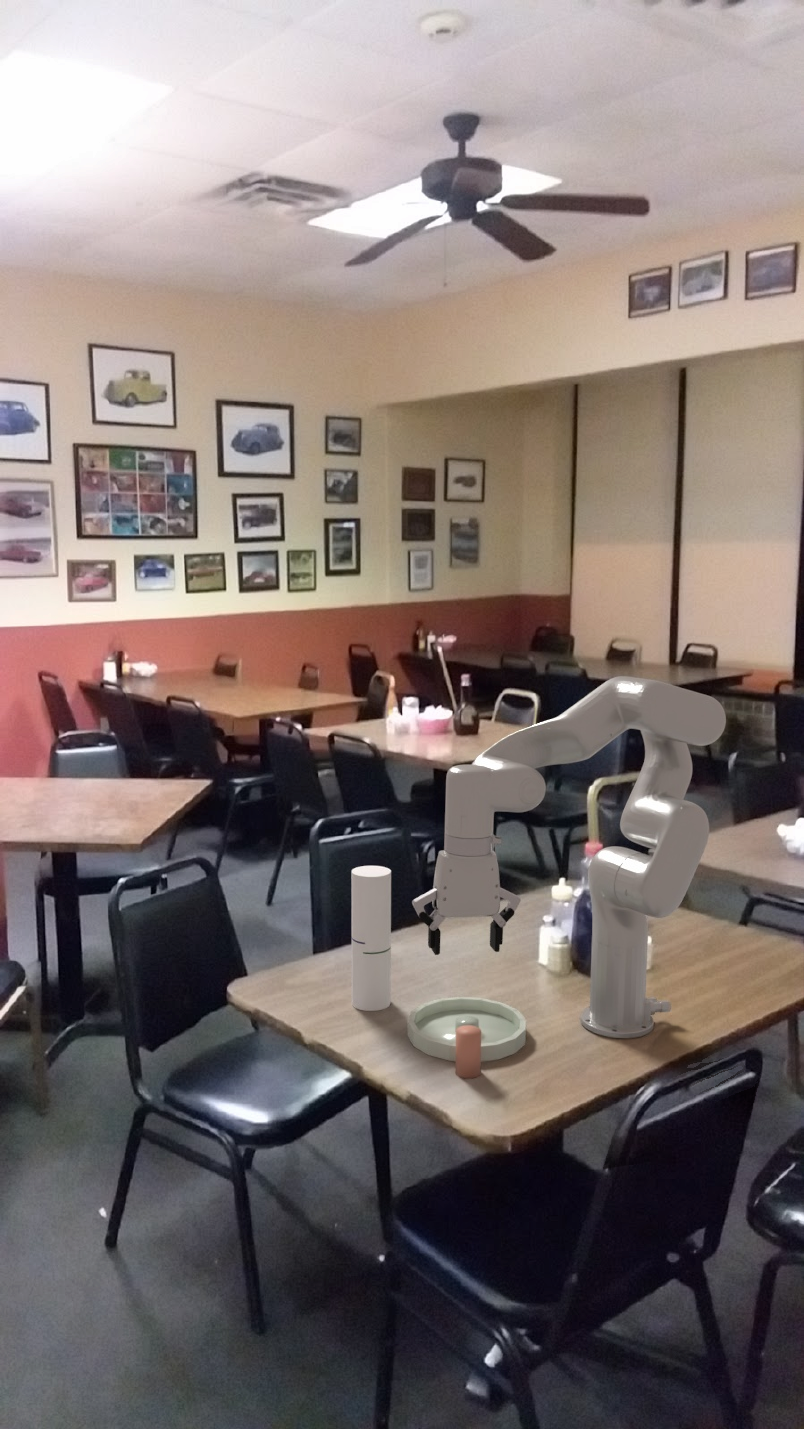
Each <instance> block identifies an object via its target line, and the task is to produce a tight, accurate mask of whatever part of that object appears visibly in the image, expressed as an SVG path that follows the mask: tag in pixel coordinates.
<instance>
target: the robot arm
mask: <svg viewBox="0 0 804 1429" xmlns="http://www.w3.org/2000/svg"><path fill="white" fill-rule="evenodd" d="M726 718H727V716H726V712H725V709H724V707H723V705H722V704H721V702H719V701H718V700H717V699H716V698H714V697H713V696H710V695H707V694H704V693H700V692H697V691H694V690H690V689H687V688H682V687H680V686H677V685H673V684H670V683H667V682H664V681H661V680H656V679H649V678H648V679H647V678H642V677H633V676H626V675H625V676H624V675H621V676H620V675H619V676H615V677H612V678H609V679H608V680H606V681H605V682H603V683H601V685H599V686H597V688H595V689H593V690H592V691H590V692H589V693H587V695H585V696H584V697H583V698H581V699H580V700H578V701H577V702H576V703H575V704H573V705H572V706H570V707H569V708H568V709H566V710H565V711H564V712H561V714H559V715H558V716H556V717H553V718H551V719H547V720H544V721H541V722H539V723H536V724H533V725H531V726H529V727H525V728H523V729H519V730H517V731H515V732H512V733H511V734H509V735H506V736H505V737H503V738H501V739H500V740H498V741H496V742H495V743H493V745H491V746H490V747H489V748H487V749H486V750H484V751H483V752H482V753H480V755H478V756H477V757H476V758H475V759H474V760H473V761H472V762H471V764H458V765H453V766H452V767H450V768H449V769H448V770H447V773H446V779H445V809H444V810H445V812H444V841H443V842H444V846H443V850H439V851H438V853H437V854H438V855H437V858H436V864H435V870H434V877H433V886H432V889H430V890H428V891H427V892H425V893H424V894H421V895H419V896H418V897H416V898H414V899H413V900H412V901H411V904H412V906H413V908H414V910H415V912H416V914H417V916H418V917H419V919H420V920H421V921H422V922H423V923H424V925H426V927H428V932H427V933H428V934H427V946H428V948H429V949H431V951H432V952H433V954H434V955H435V956H438V955H440V954H441V934H442V933H441V929H440V928H439V927H440V926H441V924H442V923H443V922H444V921H445V920H446V919H461V918H462V919H463V918H464V919H466V918H469V919H470V918H484V917H485V918H486V917H491V918H492V919H493V920H492V921H491V923H490V924H489V927H490V928H489V932H490V933H489V946H490V947H491V949H492V950H493V951H494V952H495V953H498V952H500V948H501V946H500V945H503V941H504V940H503V939H504V938H503V934H504V927H505V926H506V925H507V922H509V921H510V920H511V918H512V917H513V916H514V915H515V911H516V910H517V908H518V907H519V905H520V903H521V898H520V897H519V896H518V895H516V894H515V893H513V892H510V891H509V890H506V889H505V888H502V887H501V883H500V882H501V881H500V870H499V864H498V863H499V862H498V856H497V853H496V852H495V851H494V850H495V847H497V846H501V845H502V841H503V840H502V837H501V836H497V835H495V834H494V819H495V818H494V817H495V812H504V813H505V812H508V813H524V812H525V813H526V812H528V811H531V810H533V809H535V808H536V807H537V806H539V804H541V803H542V801H544V798H545V795H546V790H547V786H546V781H545V778H544V777H543V775H542V774H541V773H540V772H539V771H538V770H537V769H538V768H541V767H547V766H553V765H564V764H566V765H567V764H574V763H577V762H582V761H585V760H588V759H590V758H592V757H593V756H594V755H595V754H597V753H598V752H600V751H601V750H602V749H603V748H604V747H606V746H607V745H608V744H610V743H611V742H612V741H614V740H615V739H616V738H617V737H619V736H621V734H624V732H625V731H627V730H630V729H633V730H639V731H640V734H641V736H642V739H643V744H644V760H643V761H644V762H643V764H642V766H641V770H640V771H639V772H640V773H639V775H638V777H637V779H636V781H635V783H634V786H633V788H632V790H631V793H630V795H629V797H628V799H627V801H626V804H625V806H624V809H623V810H622V813H621V817H620V822H619V829H620V831H621V833H622V835H623V836H624V837H625V838H626V839H628V841H631V842H633V843H635V844H637V845H640V846H643V847H645V848H649V849H651V850H654V852H653V855H648V854H646V853H644V852H643V853H642V852H640V851H636V850H634V849H631V848H628V847H624V846H615V845H614V846H607V847H604V848H601V849H600V850H599V851H597V852H596V853H595V855H594V856H592V858H591V860H590V863H589V865H588V872H587V881H588V882H587V883H588V889H589V896H590V900H591V910H592V911H591V913H592V927H591V928H592V929H591V930H592V933H591V934H592V935H591V954H590V955H591V957H590V958H591V961H590V989H589V1006H587V1007H585V1008H584V1009H583V1010H582V1011H581V1013H580V1024H581V1025H582V1026H583V1027H584V1028H585V1029H586V1030H588V1031H589V1032H591V1033H594V1034H595V1035H596V1034H597V1035H600V1036H603V1037H608V1038H615V1039H633V1038H640V1037H643V1036H645V1035H647V1034H649V1033H651V1032H652V1030H653V1029H654V1025H655V1024H654V1023H655V1022H654V1018H653V1016H654V1015H656V1014H655V1013H668V1012H671V1009H672V1005H671V1002H670V1001H669V1000H668V999H667V1000H658V999H657V997H655V996H651V997H648V998H647V997H646V995H647V994H646V992H647V991H646V989H647V968H648V967H647V964H648V943H649V926H648V925H649V924H648V920H647V919H648V918H647V916H648V917H651V918H655V919H663V918H666V917H668V916H670V915H672V914H673V913H675V911H676V910H677V909H678V908H679V907H680V905H681V903H682V901H683V900H684V897H685V896H686V894H687V891H688V889H689V887H690V886H691V883H692V880H693V878H694V875H695V874H696V871H697V869H698V866H699V864H700V862H701V860H702V858H703V854H705V850H706V848H707V844H708V842H709V836H710V822H709V818H708V815H707V813H706V811H704V809H703V808H702V807H701V806H699V805H698V804H697V803H694V802H692V801H689V800H686V799H684V798H685V797H686V793H687V791H688V788H689V786H690V783H691V779H692V776H693V761H692V756H691V753H690V750H689V746H688V744H689V745H693V746H700V747H701V746H708V745H711V744H713V743H714V742H716V741H717V740H719V739H720V737H722V734H723V732H725V728H726V723H727V719H726ZM501 898H502V899H503V900H506V901H508V903H507V905H506V906H504V908H503V909H502V910H501V911H500V909H501ZM431 902H432V903H431ZM429 903H431V904H432V908H433V909H434V910H433V911H432V912H431V914H430V915H429V914H428V912H426V909H425V905H428V904H429ZM499 911H500V912H499Z"/></svg>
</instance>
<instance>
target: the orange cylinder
mask: <svg viewBox="0 0 804 1429" xmlns="http://www.w3.org/2000/svg"><path fill="white" fill-rule="evenodd" d="M454 1062H455V1069H454V1070H455V1075H456V1076H458V1077H460V1078H462V1079H475V1078H478V1077H479V1076H480V1075H481V1069H482V1067H481V1065H482V1064H481V1029H480V1028H478V1027H476V1026H471V1025H465V1026H460V1027H458V1028H457V1029H456V1061H454Z"/></svg>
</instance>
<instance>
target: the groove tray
mask: <svg viewBox="0 0 804 1429" xmlns="http://www.w3.org/2000/svg"><path fill="white" fill-rule="evenodd" d="M465 1025H471V1026H476V1027H478V1028H480V1029H481V1062H490V1061H491V1062H492V1061H498V1060H501V1059H503V1058H506V1057H509V1056H511V1055H514V1054H516V1053H517V1052H519V1051H520V1050H521V1048H523V1047H524V1046H525V1045H526V1036H527V1035H526V1034H527V1018H525V1016H524V1015H523V1014H522V1013H521V1012H520V1011H519V1009H517V1008H514V1007H512V1006H511V1005H508V1004H506V1003H504V1002H501V1001H498V1000H497V1001H496V1000H493V999H489V998H486V997H485V998H484V997H476V996H475V997H474V996H473V997H471V996H454V997H453V996H452V997H444V998H438V999H434V1000H431V1001H427V1002H424V1003H421V1004H420V1005H418V1006H417V1007H416V1008H414V1009H413V1010H412V1011H410V1013H409V1017H408V1019H407V1038H408V1039H409V1041H410V1043H411V1045H412V1046H413V1047H415V1048H416V1049H417V1050H420V1051H421V1052H423V1053H424V1054H425V1055H427V1056H430V1057H431V1056H432V1057H434V1058H437V1059H438V1058H439V1059H442V1060H445V1061H449V1062H455V1061H456V1029H457V1028H458V1027H460V1026H465Z"/></svg>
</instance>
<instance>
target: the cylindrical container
mask: <svg viewBox="0 0 804 1429" xmlns="http://www.w3.org/2000/svg"><path fill="white" fill-rule="evenodd" d="M350 876H351V1005H352V1007H353V1008H355V1009H357V1010H360V1011H365V1012H376V1011H381V1010H385V1009H387V1008H388V1007H390V1006H391V996H392V995H391V992H392V991H391V990H392V988H391V987H392V986H391V983H392V982H391V974H392V973H391V971H392V970H391V969H392V968H391V967H392V966H391V965H392V962H391V961H392V960H391V959H392V958H391V957H392V954H391V953H392V948H391V947H392V946H391V944H392V943H391V942H392V933H391V931H392V929H391V928H392V870H391V869H390V868H388V867H387V866H386V867H385V866H382V865H363V866H357V867H355V868H352V869H351V875H350Z"/></svg>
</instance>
